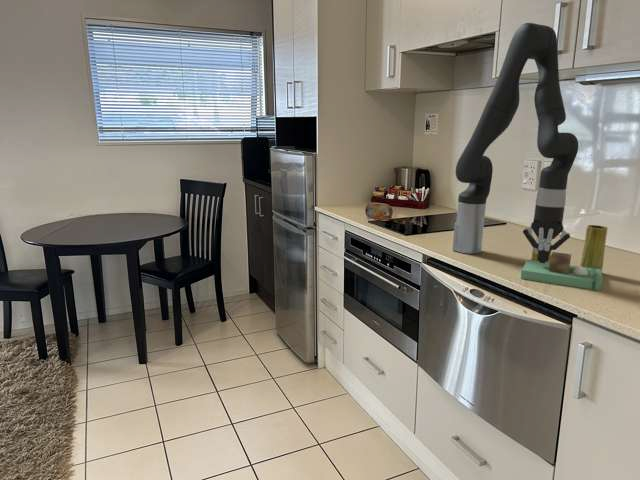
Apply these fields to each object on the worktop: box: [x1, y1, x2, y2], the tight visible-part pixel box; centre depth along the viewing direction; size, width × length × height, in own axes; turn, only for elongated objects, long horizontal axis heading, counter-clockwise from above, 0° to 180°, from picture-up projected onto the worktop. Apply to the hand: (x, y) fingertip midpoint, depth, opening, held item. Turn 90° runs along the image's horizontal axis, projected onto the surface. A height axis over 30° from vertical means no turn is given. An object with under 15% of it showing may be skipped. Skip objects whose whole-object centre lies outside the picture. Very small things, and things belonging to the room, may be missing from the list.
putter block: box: [549, 251, 572, 274], centre depth 136 cm, size 5×8×4 cm, turn 150°
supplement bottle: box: [530, 236, 553, 262], centre depth 149 cm, size 5×5×10 cm
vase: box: [580, 224, 608, 273], centre depth 141 cm, size 6×6×14 cm
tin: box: [365, 202, 394, 222], centre depth 220 cm, size 15×3×8 cm, turn 42°
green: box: [520, 259, 603, 291], centre depth 137 cm, size 20×14×2 cm
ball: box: [572, 267, 588, 275], centre depth 134 cm, size 4×4×4 cm
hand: (542, 262), depth 138 cm, fingers closed
